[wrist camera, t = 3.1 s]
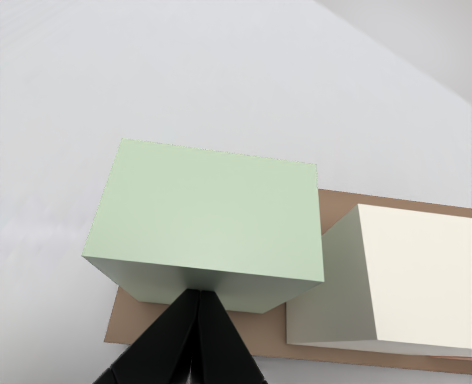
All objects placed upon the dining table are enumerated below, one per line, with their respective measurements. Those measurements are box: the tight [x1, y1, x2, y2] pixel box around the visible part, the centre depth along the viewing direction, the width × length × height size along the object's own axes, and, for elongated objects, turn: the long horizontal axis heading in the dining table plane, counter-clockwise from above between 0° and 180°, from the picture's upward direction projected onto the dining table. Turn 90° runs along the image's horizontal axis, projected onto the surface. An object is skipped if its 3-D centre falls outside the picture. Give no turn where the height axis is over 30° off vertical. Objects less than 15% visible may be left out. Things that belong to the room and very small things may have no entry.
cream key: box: [286, 204, 472, 357], centre depth 9 cm, size 3×5×6 cm, turn 86°
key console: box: [104, 189, 472, 375], centre depth 15 cm, size 8×19×4 cm, turn 86°
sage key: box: [81, 138, 324, 314], centre depth 9 cm, size 3×5×6 cm, turn 86°
